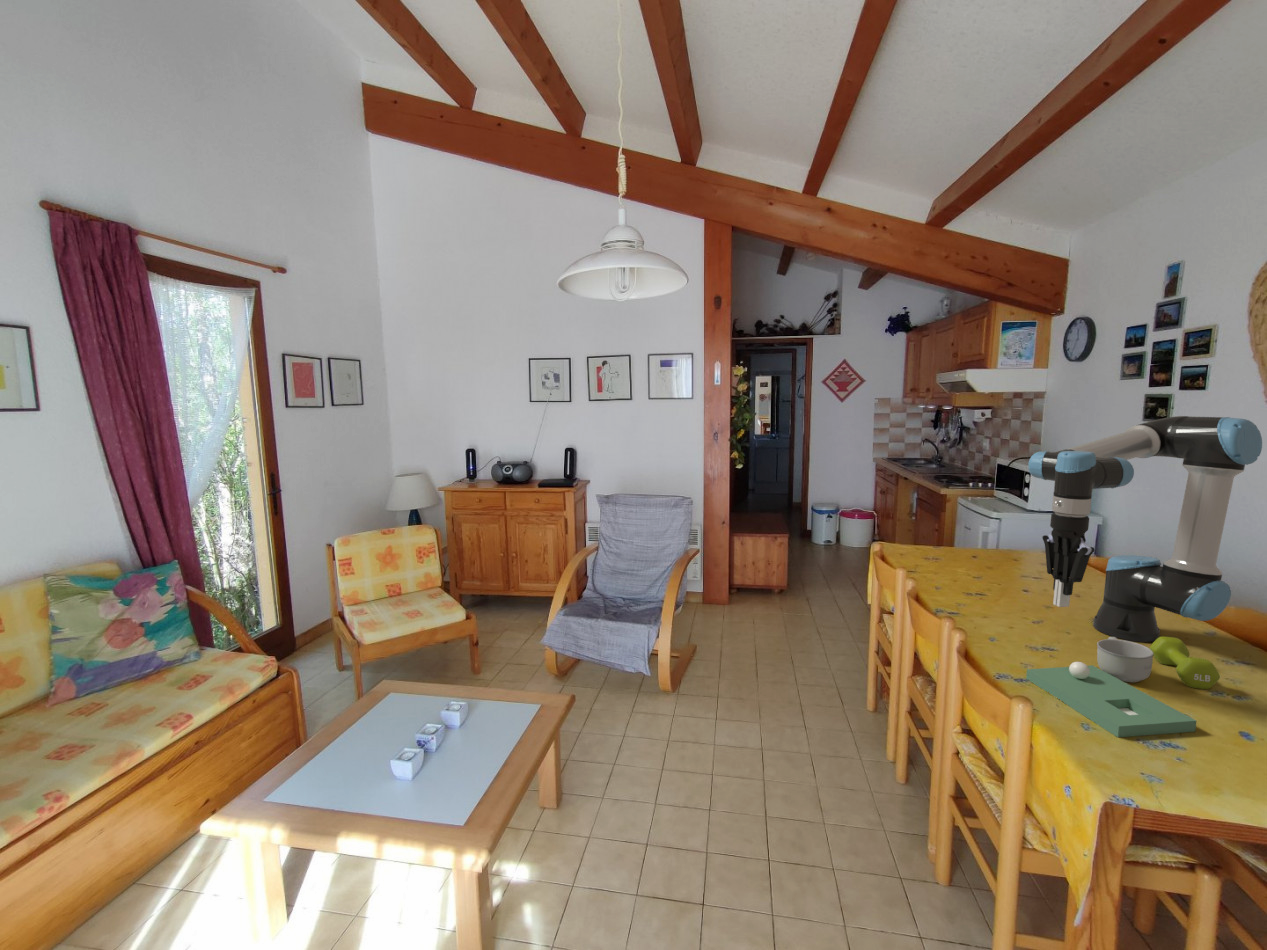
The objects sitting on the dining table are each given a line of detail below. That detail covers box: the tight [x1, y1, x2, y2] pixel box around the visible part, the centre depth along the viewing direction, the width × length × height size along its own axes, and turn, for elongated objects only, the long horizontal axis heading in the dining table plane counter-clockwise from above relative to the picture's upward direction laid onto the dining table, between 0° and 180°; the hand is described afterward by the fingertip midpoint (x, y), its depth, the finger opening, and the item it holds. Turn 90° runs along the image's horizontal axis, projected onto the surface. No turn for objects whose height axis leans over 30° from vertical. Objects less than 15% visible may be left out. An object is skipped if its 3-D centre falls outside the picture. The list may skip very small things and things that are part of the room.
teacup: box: [1096, 636, 1154, 683], centre depth 146 cm, size 14×11×8 cm
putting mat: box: [1025, 665, 1198, 738], centre depth 133 cm, size 18×25×2 cm
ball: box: [1068, 661, 1090, 679], centre depth 140 cm, size 4×4×4 cm
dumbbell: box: [1149, 636, 1221, 690], centre depth 146 cm, size 16×8×7 cm, turn 160°
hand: (1061, 605), depth 145 cm, fingers closed
